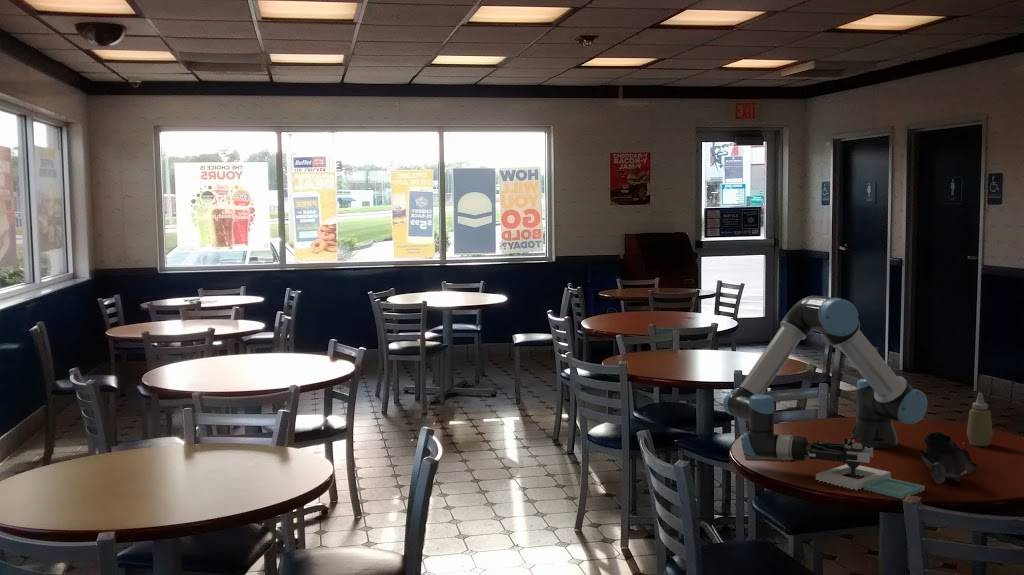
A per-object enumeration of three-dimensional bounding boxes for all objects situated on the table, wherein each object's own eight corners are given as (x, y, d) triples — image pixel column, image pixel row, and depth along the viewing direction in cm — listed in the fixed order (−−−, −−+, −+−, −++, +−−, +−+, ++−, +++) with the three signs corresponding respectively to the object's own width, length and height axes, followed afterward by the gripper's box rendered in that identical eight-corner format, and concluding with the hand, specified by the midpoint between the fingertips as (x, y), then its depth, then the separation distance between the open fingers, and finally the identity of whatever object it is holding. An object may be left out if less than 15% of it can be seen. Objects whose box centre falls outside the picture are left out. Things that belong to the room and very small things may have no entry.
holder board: (849, 469, 298) (849, 463, 298) (890, 478, 287) (890, 472, 287) (815, 480, 287) (815, 473, 287) (857, 490, 276) (857, 483, 276)
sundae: (866, 482, 283) (867, 433, 282) (843, 482, 285) (843, 433, 284) (863, 476, 290) (863, 428, 289) (840, 476, 291) (840, 428, 290)
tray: (886, 481, 284) (886, 477, 284) (924, 490, 274) (924, 486, 274) (863, 489, 277) (863, 485, 277) (902, 499, 267) (902, 494, 267)
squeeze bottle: (967, 446, 322) (968, 394, 321) (965, 441, 330) (966, 390, 328) (993, 448, 319) (994, 395, 318) (991, 442, 327) (992, 391, 325)
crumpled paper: (984, 485, 276) (954, 470, 296) (979, 436, 275) (949, 424, 295) (936, 490, 276) (909, 475, 296) (930, 441, 276) (904, 429, 296)
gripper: (799, 452, 304) (875, 459, 293) (786, 467, 287) (866, 475, 276) (799, 429, 303) (875, 436, 292) (786, 442, 286) (866, 450, 275)
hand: (871, 455), depth 284 cm, fingers closed on sundae, 6 cm apart
